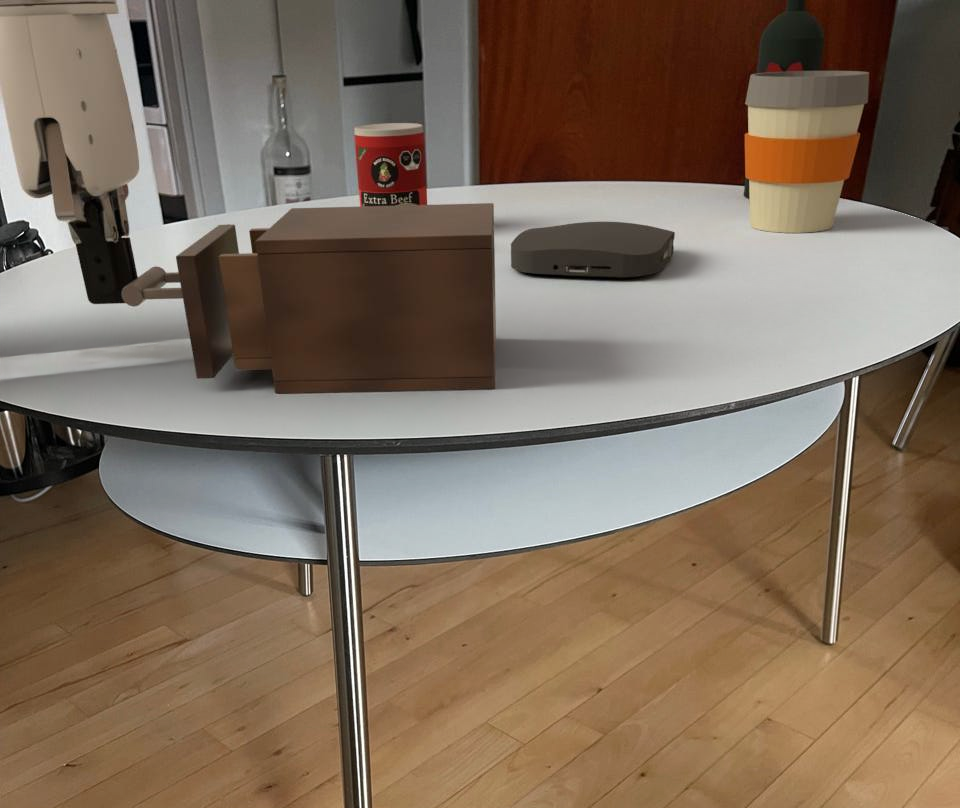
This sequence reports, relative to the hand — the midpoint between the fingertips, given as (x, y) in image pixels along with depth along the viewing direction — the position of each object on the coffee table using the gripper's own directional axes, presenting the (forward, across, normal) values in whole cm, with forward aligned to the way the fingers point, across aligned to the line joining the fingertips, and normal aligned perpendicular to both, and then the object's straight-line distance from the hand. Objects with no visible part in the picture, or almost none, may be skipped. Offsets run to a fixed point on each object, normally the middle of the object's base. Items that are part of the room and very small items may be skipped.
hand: (115, 300), depth 71 cm
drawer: (+4, 0, +11) cm, 12 cm away
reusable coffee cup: (+5, -51, +59) cm, 78 cm away
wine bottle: (+6, -72, +62) cm, 95 cm away
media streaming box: (+5, -33, +36) cm, 49 cm away
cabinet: (+5, 0, +19) cm, 20 cm away
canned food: (+5, -53, +14) cm, 55 cm away
